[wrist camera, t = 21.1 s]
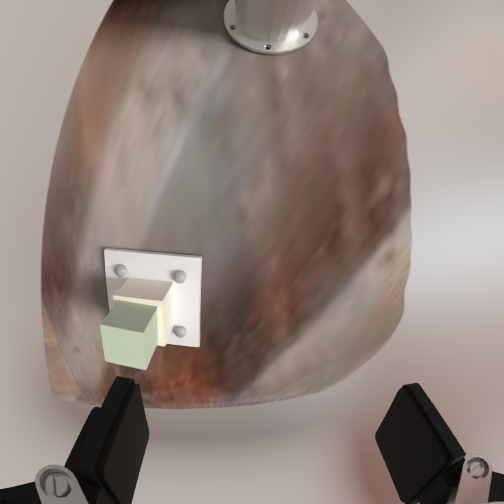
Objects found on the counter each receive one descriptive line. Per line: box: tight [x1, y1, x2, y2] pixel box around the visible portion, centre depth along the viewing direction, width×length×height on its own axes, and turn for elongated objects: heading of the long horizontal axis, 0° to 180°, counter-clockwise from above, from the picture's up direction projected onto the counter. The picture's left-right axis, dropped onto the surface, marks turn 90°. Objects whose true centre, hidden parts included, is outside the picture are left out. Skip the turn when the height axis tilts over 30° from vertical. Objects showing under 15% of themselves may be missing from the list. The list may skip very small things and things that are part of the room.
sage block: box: [100, 300, 158, 370], centre depth 31 cm, size 5×5×6 cm
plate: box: [104, 248, 202, 347], centre depth 39 cm, size 14×14×2 cm
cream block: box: [113, 278, 174, 346], centre depth 36 cm, size 6×6×6 cm
